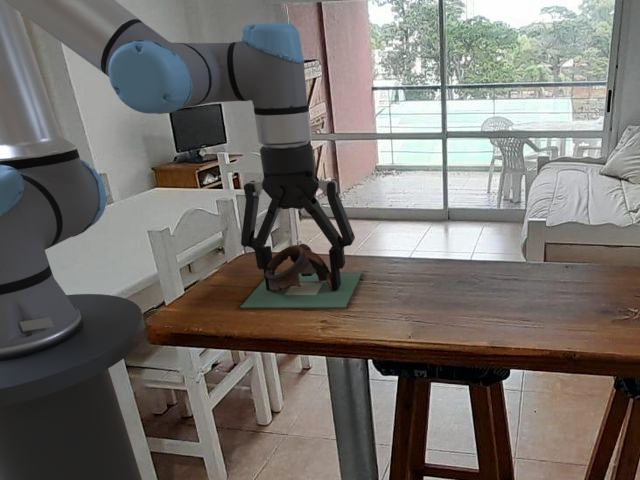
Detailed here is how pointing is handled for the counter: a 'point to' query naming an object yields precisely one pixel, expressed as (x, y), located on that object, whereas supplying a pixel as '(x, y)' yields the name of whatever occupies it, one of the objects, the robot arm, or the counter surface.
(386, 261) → the counter surface
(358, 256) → the counter surface
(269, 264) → the broken pottery ring
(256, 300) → the centre mat
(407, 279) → the counter surface
